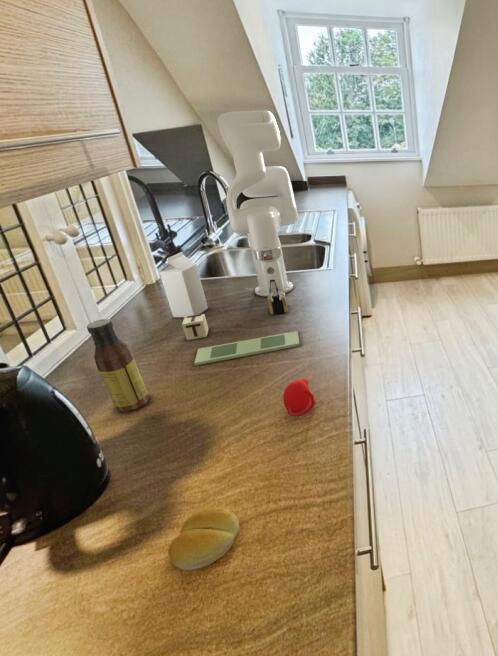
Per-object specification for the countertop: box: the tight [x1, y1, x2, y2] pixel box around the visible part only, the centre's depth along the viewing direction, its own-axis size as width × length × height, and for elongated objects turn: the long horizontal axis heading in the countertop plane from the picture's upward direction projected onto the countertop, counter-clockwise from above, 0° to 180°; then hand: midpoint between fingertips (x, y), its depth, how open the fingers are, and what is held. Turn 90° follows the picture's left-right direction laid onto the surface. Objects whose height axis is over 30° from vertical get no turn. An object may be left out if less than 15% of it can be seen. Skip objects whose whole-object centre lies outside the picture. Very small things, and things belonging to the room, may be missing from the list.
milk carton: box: [159, 251, 209, 318], centre depth 138 cm, size 7×7×19 cm
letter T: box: [181, 313, 210, 341], centre depth 127 cm, size 5×5×5 cm
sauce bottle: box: [86, 318, 150, 412], centre depth 93 cm, size 7×6×20 cm
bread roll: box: [167, 506, 240, 571], centre depth 64 cm, size 8×9×4 cm
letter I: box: [267, 292, 289, 315], centre depth 141 cm, size 5×5×5 cm
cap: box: [282, 378, 317, 417], centre depth 93 cm, size 8×6×6 cm
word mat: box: [193, 330, 300, 366], centre depth 119 cm, size 8×25×1 cm, turn 110°
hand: (278, 308), depth 142 cm, fingers closed on letter I, 5 cm apart
